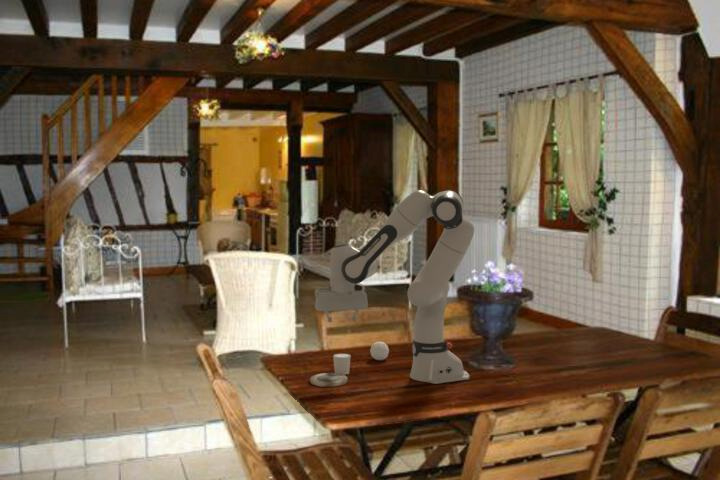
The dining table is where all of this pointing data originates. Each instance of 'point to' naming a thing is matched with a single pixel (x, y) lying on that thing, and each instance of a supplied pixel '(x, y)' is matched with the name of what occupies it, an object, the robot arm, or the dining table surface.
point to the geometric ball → (379, 350)
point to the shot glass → (342, 363)
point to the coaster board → (328, 380)
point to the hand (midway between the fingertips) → (341, 321)
